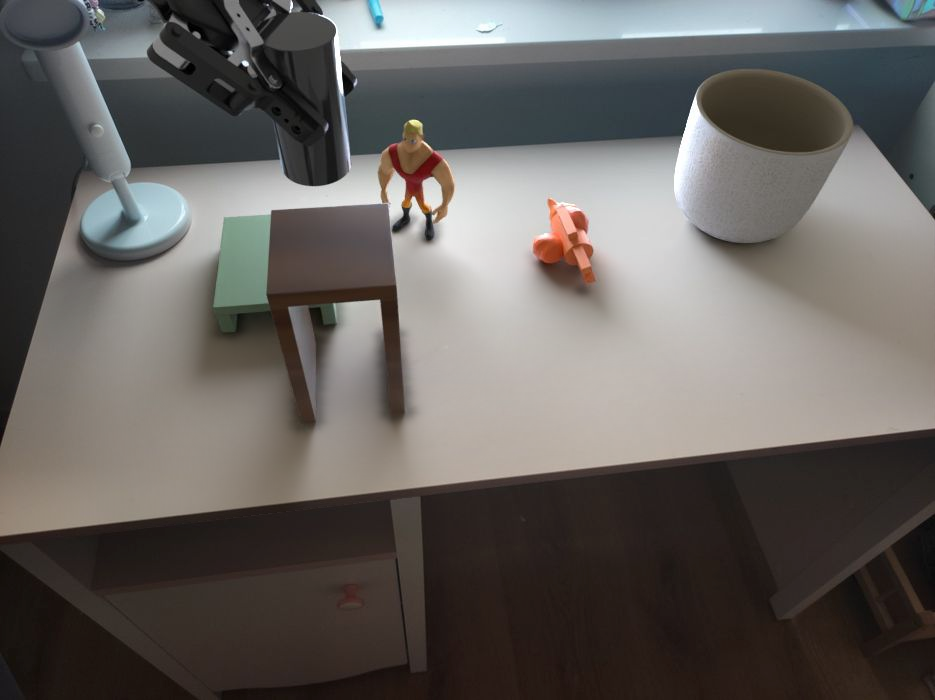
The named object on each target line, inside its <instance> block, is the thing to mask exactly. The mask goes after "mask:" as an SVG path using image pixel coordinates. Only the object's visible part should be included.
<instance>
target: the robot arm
mask: <svg viewBox="0 0 935 700" xmlns="http://www.w3.org/2000/svg"><path fill="white" fill-rule="evenodd" d="M130 1H131V2H132V3H134V4H138V5H140V4H145V3H147V2H148V3H149V4H150V5H151V6H152V7H153V9H154V10H155V11H156V13H157V14H158V17H159V18H160V20H161V21H162V23H163V27H162V29H161V31H160V32H158V35H157V36H155V38H154V40H153V41H152V42H151V44H150V45H149V47H148V48H147V49H146V55H147V57H148V59H149V61H150V62H151V63H152V64H154V65H155V66H157V67H159V68H160V69H162V70H163V71H164V72H165V73H167V74H169V75H170V76H172V77H173V78H175V79H176V80H178V81H179V82H181V83H182V84H184V85H185V86H187V87H188V88H190V89H191V90H193V91H194V92H196V93H197V94H198V95H200V96H201V97H203V98H205V99H206V100H207V101H209V102H210V103H212V104H214V105H215V106H217V107H218V108H220V109H221V110H223V112H225V113H227V114H229V115H230V116H232V117H239V116H241V114H243V112H245V111H249V110H252V109H256V110H257V109H259V110H261V111H263V112H264V113H266V115H268V117H270V118H271V120H272V119H273V120H274V121H275V122H276V123H277V124H278V125H280V126H281V127H282V128H283V129H284V130H285V131H286V132H288V134H289V135H290V136H291V137H292V138H293V139H294V140H296V141H298V142H300V143H303V144H304V145H306V146H312V145H313V144H314V143H315V142H317V141H318V140H319V139H320V138H321V137H322V136H324V134H325V133H326V131H327V129H328V123H327V121H326V120H325V119H324V118H323V117H322V116H321V115H320V114H319V113H318V112H317V111H316V110H315V109H314V108H312V107H311V106H310V105H309V104H308V103H307V102H306V101H305V100H304V99H303V98H302V97H301V96H300V95H299V94H298V93H297V92H296V91H295V90H294V89H293V88H292V87H291V86H290V85H289V84H288V83H287V82H286V83H285V84H284V85H283V86H282V80H281V78H280V76H279V75H278V73H277V72H276V70H275V69H274V67H273V66H272V64H271V63H270V61H269V60H268V58H267V57H266V55H265V54H264V50H263V43H264V41H263V40H262V38H261V36H260V35H259V33H258V32H257V30H256V28H257V27H258V25H259V24H260V23H262V22H263V21H264V20H266V19H268V18H270V17H273V16H275V15H279V14H283V13H290V12H308V13H314V14H319V15H322V16H324V12H323V9H322V7H321V5H319V3H318V2H317V0H295V2H296V3H297V5H299V8H301V9H300V10H299V11H298V10H297V9H296V8H295V7H294V6H293V0H130ZM269 7H270V8H271V9H269ZM230 52H232V53H231V54H230ZM340 62H341V71H342V80H343V90H344V98H346V97H347V96H348V95H349V94H350V93H351V92H352V91H353V90H354V89H355V88H356V86H357V84H358V79H357V77H356V76H355V74H353V72H351V70H350V68H349V67H348V66H347V65H346V64H345V62H344V61H342V59H340ZM249 67H250V68H251V70H252V72H254V74H255V76H256V77H253V76H252V75H251V74H250V73H249V70H248V68H249ZM217 79H218V80H221V81H222V82H223V83H225V84H226V85H228V86H230V87H231V88H232V89H233V90H229V89H228V88H227V87H225V86H224V85H222V84H221V83H219V82H218V81H216V80H217ZM281 86H282V87H281ZM0 700H26V698H25V696H24V694H23V692H22V690H21V688H20V686H19V685H18V683H17V681H16V679H15V676H14V675H13V673H12V672H11V669H10V668H9V666H8V664H7V663H6V660H5V658H4V657H3V655H2V653H1V652H0Z"/></svg>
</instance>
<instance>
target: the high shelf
mask: <svg viewBox="0 0 935 700" xmlns="http://www.w3.org/2000/svg"><path fill="white" fill-rule="evenodd" d="M389 206H390V205H389V204H388V203H382V202H381V203H365V204H350V205H333V206H317V207H300V208H298V207H297V208H285V209H283V208H281V209H271V210H270V214H271V221H270V238H269V256H268V273H267V290H266V296H267V299H268V303H269V307H270V310H271V311H270V314H271V318H272V321H273V324H274V328H275V332H276V336H277V339H278V342H279V346H280V350H281V354H282V357H283V361H284V365H285V368H286V372H287V375H288V380H289V383H290V387H291V390H292V395H293V397H294V401H295V405H296V408H297V412H298V415H299V419H300V423H301V424H304V423H305V424H306V423H316V422H317V341H316V337H315V336H316V335H315V332H314V327H313V323H312V318H311V313H310V308H308V305H319V304H332V303H336V304H343V303H357V302H359V303H360V302H369V301H370V302H373V301H379V304H380V313H381V314H380V315H381V325H382V335H383V336H382V337H383V345H384V346H383V347H384V356H385V357H384V358H385V368H386V377H387V380H386V381H387V389H388V390H387V391H388V400H389V411H390V415H392V416H393V415H401V414H406V408H405V407H406V406H405V405H406V404H405V391H404V374H403V361H402V359H403V358H402V347H401V345H402V344H401V343H402V342H401V329H400V315H399V314H400V313H399V312H400V311H399V299H398V296H399V295H398V286H397V285H398V284H397V283H398V282H397V274H396V264H395V263H396V262H395V253H394V244H393V233H392V225H391V213H390V207H389Z"/></svg>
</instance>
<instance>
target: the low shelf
mask: <svg viewBox="0 0 935 700" xmlns="http://www.w3.org/2000/svg"><path fill="white" fill-rule="evenodd" d="M270 221H271V213H270V214H256V215H240V216H226V217H225V216H224V217H223V222H222V223H223V224H222V231H221V238H220V249H219V255H218V265H217V271H216V272H217V273H216V279H215V288H214V289H215V290H214V297H213V305H212V308H213V311H214V314H215V317H216V319H217V323H218V325H219V328H220V330H221V333H223V334H226V333H236V331H237V321H238V315H239V314H249V313H261V312H262V313H263V312H271V310H270V307H269V303H268V299H267V296H266V290H267V273H268V256H269V238H270ZM308 308H309V309H314V308H315V309H317V308H319V309H320V313H321V319H322V323H323V326H324V325H336V324H337V320H338V319H337V303H332V304H319V305H308Z"/></svg>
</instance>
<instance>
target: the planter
mask: <svg viewBox="0 0 935 700" xmlns="http://www.w3.org/2000/svg"><path fill="white" fill-rule="evenodd" d="M685 126H686V127H685V130H684V133H683V137H682V140H681V144H680V147H679V151H678V155H677V160H676V163H675V172H674V179H673V188H674V195H675V196H674V197H675V199H676V203H677V205H678V207H679V209H680V210H681V211H682V213H683V215H684V216H685V217H686V218H687V219H688V221H690V222H691V224H693V225H694V226H695V227H696V228H698V229H699V230H700V231H702V232H703V233H705V234H707V235H709V236H711V237H714V238H716V239H719V240H721V241H724V242H725V241H726V242H729V243H737V244H756V243H761V242H767V241H769V240H773V239H776V238H779V237H780V236H782V235H784V234H786V233H787V232H789V231H790V230H792V229H793V228H794V227H795V226H796V225H798V223H799V222H800V221H801V220H802V219H803V218H804V216H805V215H806V214H807V212H808V211H809V210H810V208H811V207H812V205H813V204H814V203H815V201H816V199H817V197H818V196H819V194H820V192H821V191H822V189H823V187H824V185H825V184H826V182H827V180H828V178H829V177H830V175H831V173H832V172H833V170H834V168H835V166H836V164H837V163H838V161H839V159H840V158H841V156H842V154H843V152H844V151H845V149H846V147H847V146H848V143H849V141H850V139H851V137H852V135H853V131H854V121H853V118H852V115H851V113H850V111H849V109H848V108H847V107H846V106H845V104H844V103H843V102H842V101H841V100H840V99H838V98H837V97H836V96H835V95H834V94H832V93H831V92H830V91H828V90H826V89H825V88H823V87H821V86H820V85H818V84H816V83H814V82H812V81H809V80H807V79H805V78H802V77H800V76H796V75H793V74H789V73H786V72H781V71H778V70H777V71H776V70H770V69H764V68H763V69H761V68H739V69H731V70H726V71H722V72H720V73H716V74H714V75H711V76H710V77H708V78H707V79H705V80H704V81H703V82H702V83H701V84H700V85H699V86H698V88H697V90H696V92H695V95H694V99H693V101H692V105H691V108H690V111H689V115H688V118H687V122H686V125H685Z"/></svg>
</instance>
